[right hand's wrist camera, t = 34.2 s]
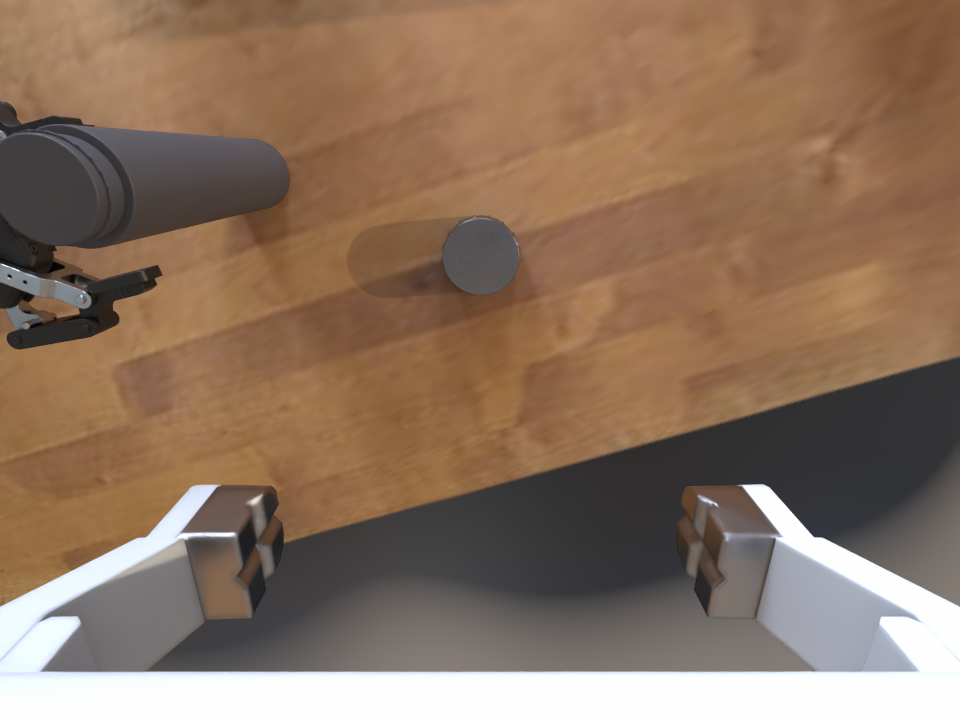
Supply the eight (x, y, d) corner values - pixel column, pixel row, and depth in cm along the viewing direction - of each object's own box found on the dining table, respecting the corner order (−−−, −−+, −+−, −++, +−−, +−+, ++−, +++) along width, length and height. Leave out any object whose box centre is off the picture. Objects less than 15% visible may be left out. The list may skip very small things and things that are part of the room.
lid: (443, 214, 38) (441, 216, 37) (519, 215, 38) (521, 218, 37) (443, 289, 40) (442, 295, 39) (516, 290, 40) (518, 296, 39)
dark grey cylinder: (251, 124, 36) (19, 90, 18) (302, 177, 37) (134, 197, 19) (209, 171, 37) (-50, 185, 19) (260, 222, 39) (62, 280, 20)
